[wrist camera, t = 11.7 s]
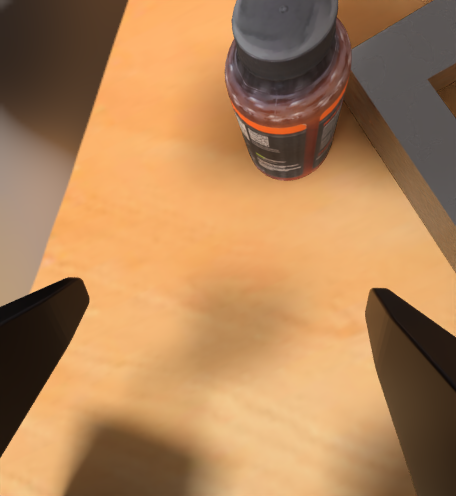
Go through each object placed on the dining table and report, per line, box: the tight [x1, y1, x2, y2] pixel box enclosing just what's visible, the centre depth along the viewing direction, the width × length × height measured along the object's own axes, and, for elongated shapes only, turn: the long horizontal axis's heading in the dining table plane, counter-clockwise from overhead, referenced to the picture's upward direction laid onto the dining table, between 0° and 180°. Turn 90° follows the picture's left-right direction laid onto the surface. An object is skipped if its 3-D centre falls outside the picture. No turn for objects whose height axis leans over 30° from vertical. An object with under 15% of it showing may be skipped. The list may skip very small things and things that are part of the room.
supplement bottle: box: [225, 0, 352, 181], centre depth 16 cm, size 6×6×11 cm
